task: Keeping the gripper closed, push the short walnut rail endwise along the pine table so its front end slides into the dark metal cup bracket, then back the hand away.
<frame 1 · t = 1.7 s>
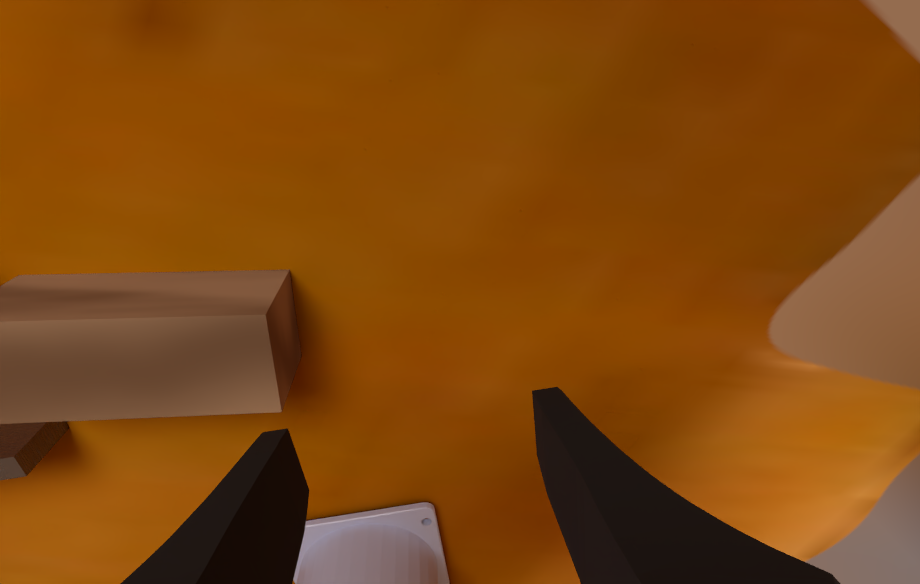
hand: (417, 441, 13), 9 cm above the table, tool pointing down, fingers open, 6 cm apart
rail: (171, 315, 21), on the table
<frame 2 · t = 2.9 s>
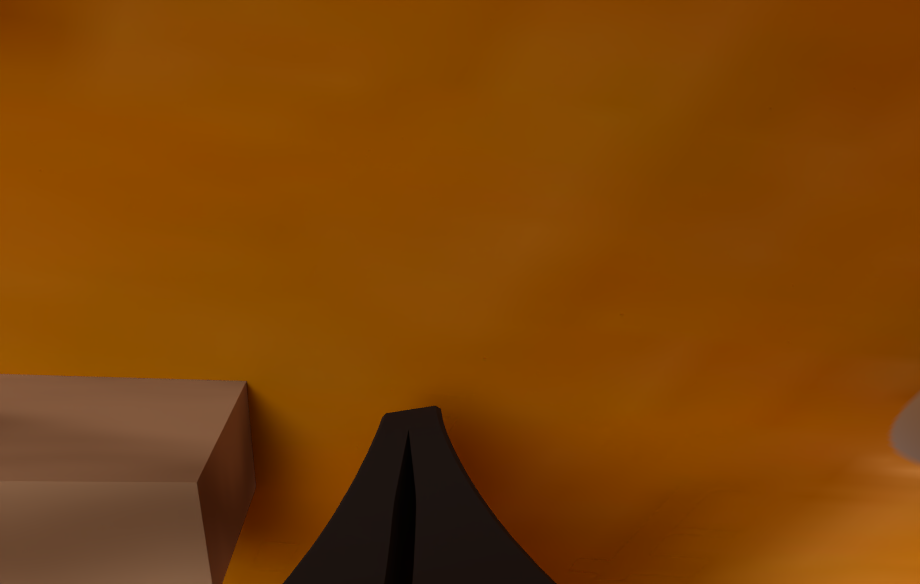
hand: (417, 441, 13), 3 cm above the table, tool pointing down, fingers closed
rail: (74, 428, 15), on the table
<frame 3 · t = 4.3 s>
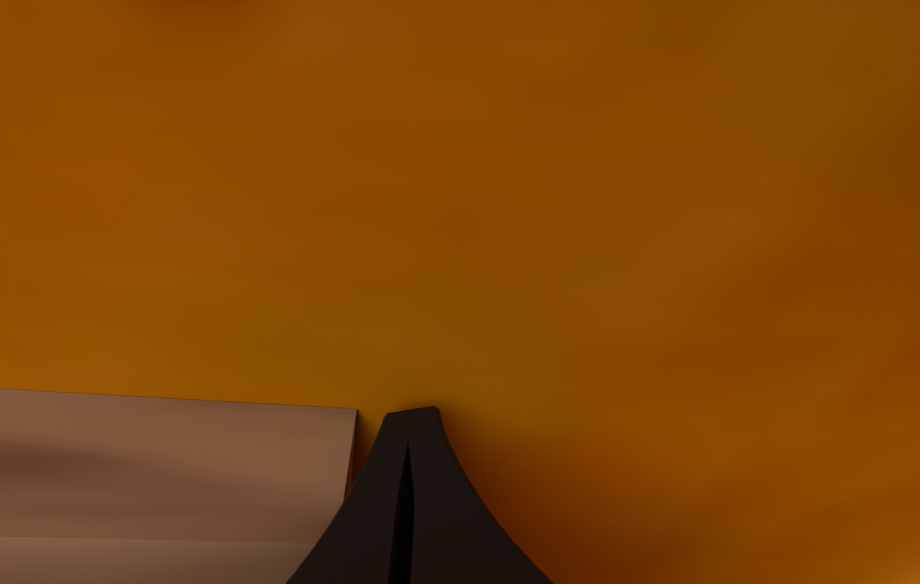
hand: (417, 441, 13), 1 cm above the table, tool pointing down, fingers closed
rail: (158, 459, 13), on the table, touching gripper
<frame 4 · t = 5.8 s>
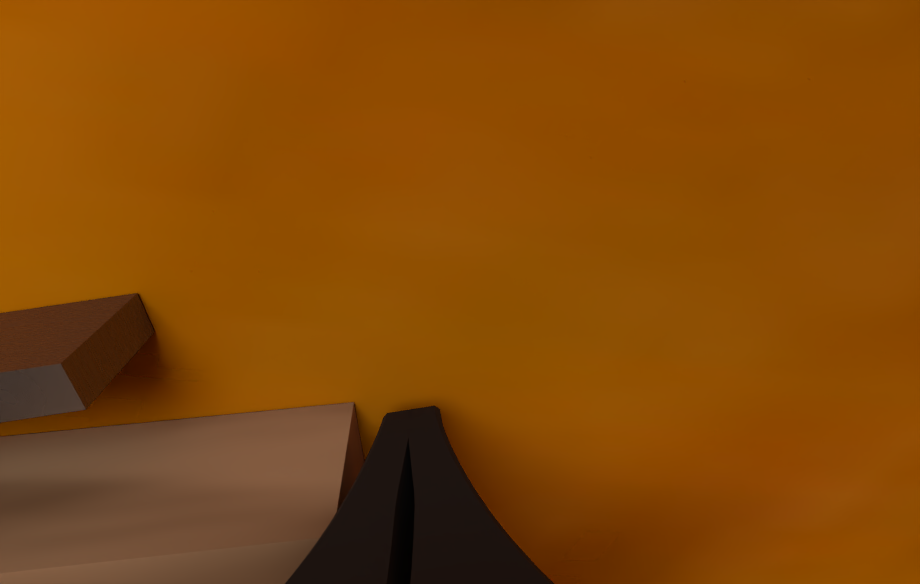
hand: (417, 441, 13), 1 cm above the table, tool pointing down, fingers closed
rail: (176, 481, 14), on the table, touching gripper
bracket: (70, 468, 13), on the table
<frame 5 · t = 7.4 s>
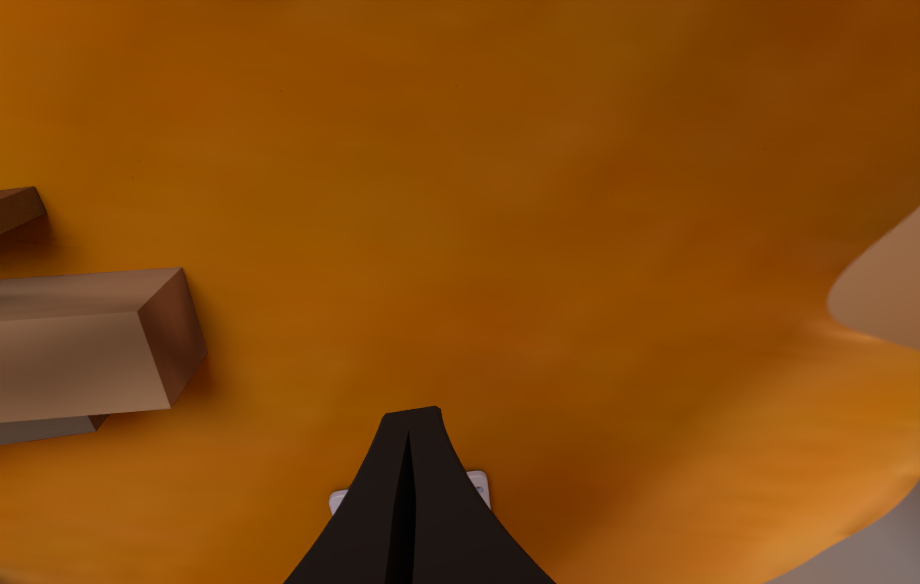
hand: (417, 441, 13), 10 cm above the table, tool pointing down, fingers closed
rail: (72, 318, 21), on the table
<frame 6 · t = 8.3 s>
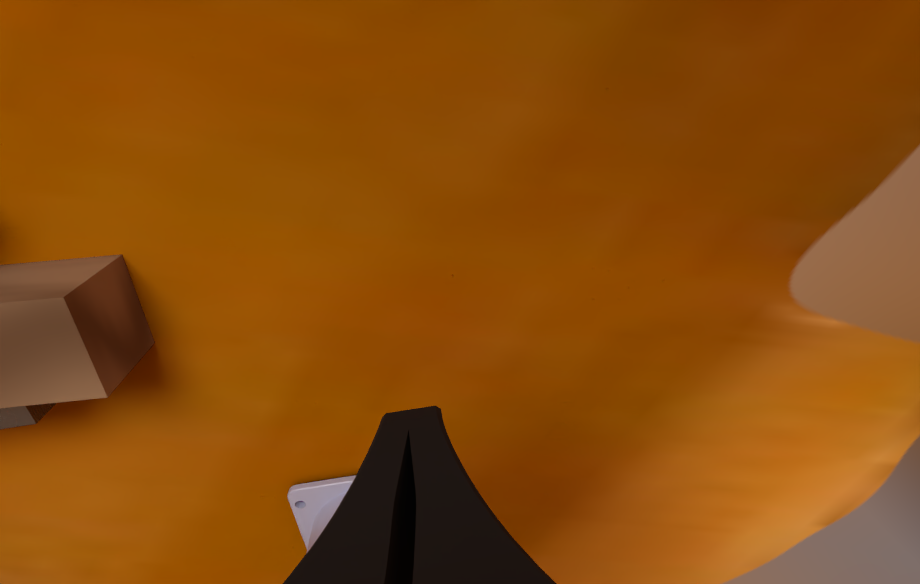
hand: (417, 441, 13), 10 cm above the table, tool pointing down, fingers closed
rail: (14, 309, 21), on the table
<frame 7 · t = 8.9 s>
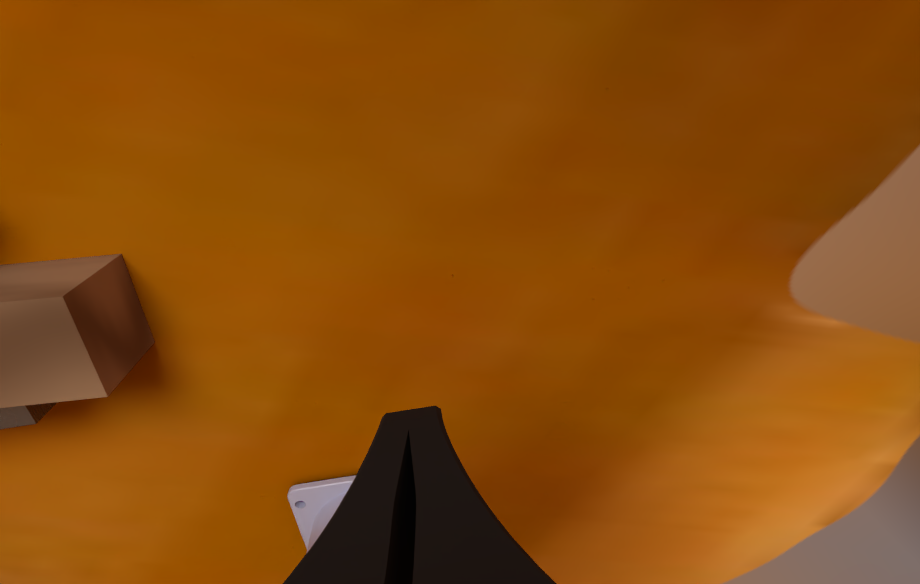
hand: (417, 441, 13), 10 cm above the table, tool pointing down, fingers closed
rail: (14, 309, 21), on the table
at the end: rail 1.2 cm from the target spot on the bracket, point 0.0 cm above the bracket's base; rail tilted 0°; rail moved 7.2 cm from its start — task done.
